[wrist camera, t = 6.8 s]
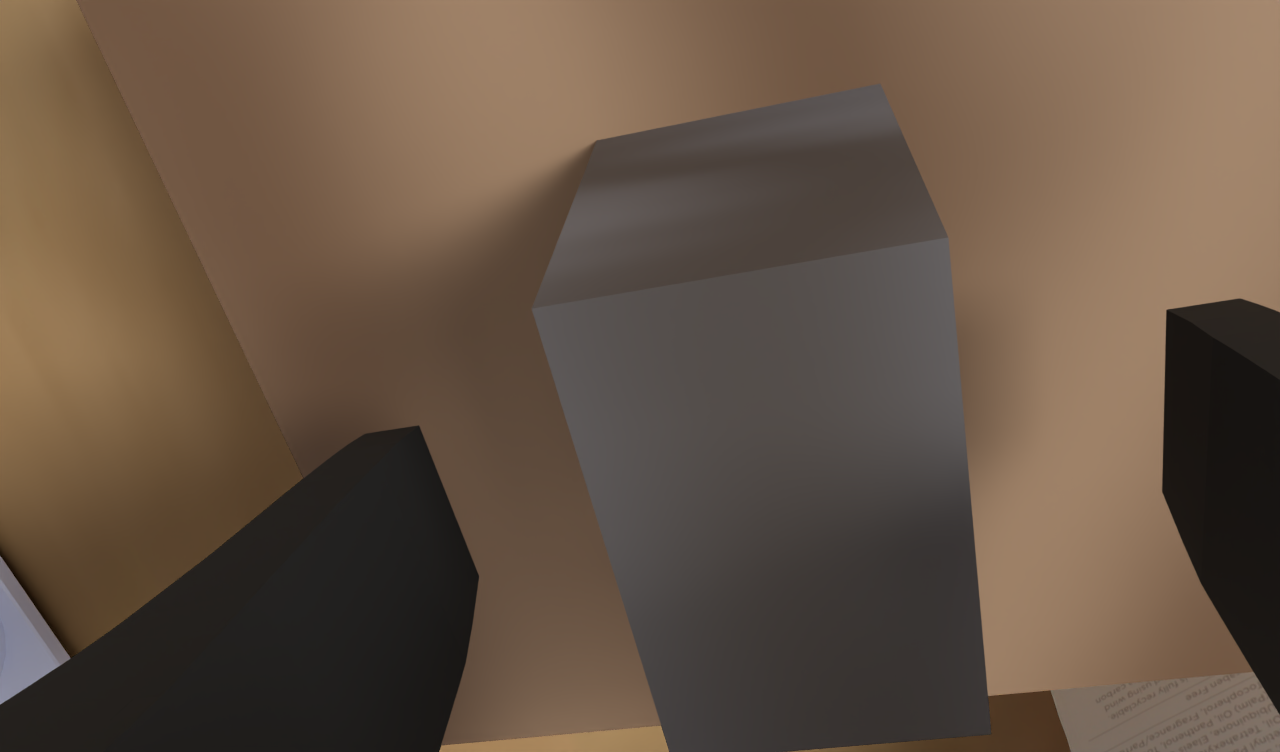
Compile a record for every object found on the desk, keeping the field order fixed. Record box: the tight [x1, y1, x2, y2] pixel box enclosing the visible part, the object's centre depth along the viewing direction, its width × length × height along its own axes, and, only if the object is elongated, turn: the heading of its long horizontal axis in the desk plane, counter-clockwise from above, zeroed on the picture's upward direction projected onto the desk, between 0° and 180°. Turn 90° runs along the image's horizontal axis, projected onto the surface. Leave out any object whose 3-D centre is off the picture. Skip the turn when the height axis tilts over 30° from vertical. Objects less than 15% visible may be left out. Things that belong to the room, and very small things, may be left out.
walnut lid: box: [76, 0, 1280, 752], centre depth 11 cm, size 13×13×5 cm
